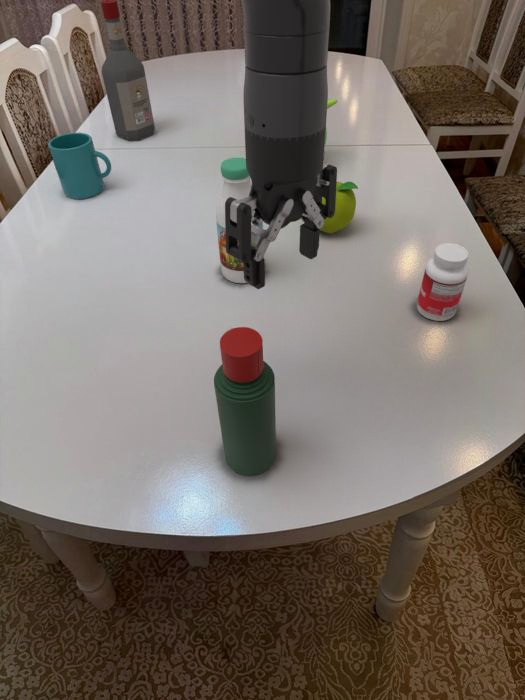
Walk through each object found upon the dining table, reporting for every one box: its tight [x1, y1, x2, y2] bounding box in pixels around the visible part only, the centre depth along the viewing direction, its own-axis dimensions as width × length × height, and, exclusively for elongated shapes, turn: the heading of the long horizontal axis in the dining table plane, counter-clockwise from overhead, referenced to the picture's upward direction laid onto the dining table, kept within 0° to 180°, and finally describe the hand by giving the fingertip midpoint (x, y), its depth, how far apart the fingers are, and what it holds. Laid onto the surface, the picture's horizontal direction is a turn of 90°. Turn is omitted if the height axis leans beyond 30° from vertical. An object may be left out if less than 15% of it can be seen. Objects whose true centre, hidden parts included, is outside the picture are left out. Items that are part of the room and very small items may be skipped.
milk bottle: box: [215, 157, 265, 284], centre depth 82 cm, size 8×8×20 cm
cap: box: [219, 326, 264, 382], centre depth 49 cm, size 4×4×4 cm
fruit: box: [320, 181, 359, 234], centre depth 95 cm, size 9×9×10 cm
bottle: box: [213, 360, 277, 477], centre depth 55 cm, size 6×6×19 cm
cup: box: [47, 132, 112, 200], centre depth 109 cm, size 9×12×11 cm
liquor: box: [100, 0, 156, 142], centre depth 125 cm, size 9×9×30 cm
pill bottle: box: [416, 242, 469, 322], centre depth 76 cm, size 6×6×11 cm
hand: (283, 269), depth 56 cm, fingers open, 8 cm apart
